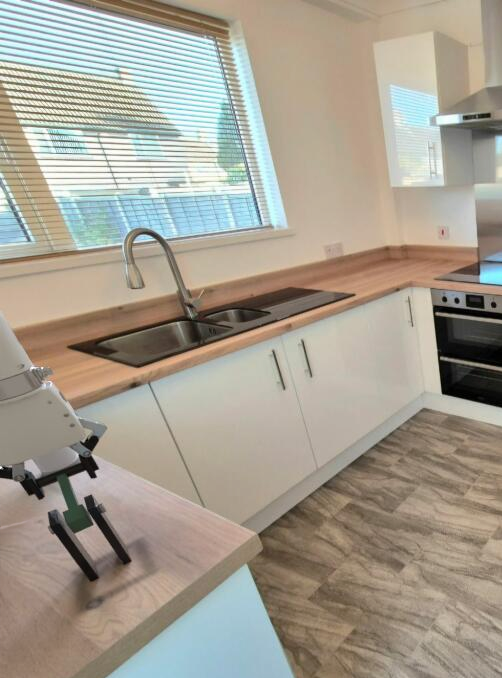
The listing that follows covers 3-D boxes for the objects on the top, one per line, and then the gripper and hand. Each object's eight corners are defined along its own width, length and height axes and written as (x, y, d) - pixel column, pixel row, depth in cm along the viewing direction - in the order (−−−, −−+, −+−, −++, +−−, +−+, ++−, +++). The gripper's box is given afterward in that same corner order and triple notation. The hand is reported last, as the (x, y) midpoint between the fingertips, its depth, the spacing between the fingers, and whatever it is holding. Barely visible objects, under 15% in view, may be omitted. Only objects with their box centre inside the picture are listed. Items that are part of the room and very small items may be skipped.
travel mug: (87, 455, 98) (39, 377, 89) (72, 471, 93) (19, 390, 84) (53, 462, 96) (0, 383, 88) (36, 479, 91) (-22, 397, 82)
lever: (40, 485, 68) (32, 475, 66) (86, 468, 71) (79, 458, 70) (59, 541, 61) (50, 531, 60) (108, 518, 65) (101, 509, 63)
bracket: (76, 569, 68) (32, 509, 63) (138, 539, 74) (102, 481, 68) (84, 606, 62) (35, 543, 57) (151, 570, 67) (112, 509, 62)
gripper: (80, 360, 69) (129, 451, 77) (-89, 401, 58) (-10, 504, 66) (86, 371, 65) (138, 467, 73) (-95, 419, 53) (-10, 527, 61)
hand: (67, 484), depth 69 cm, fingers closed on lever, 5 cm apart
